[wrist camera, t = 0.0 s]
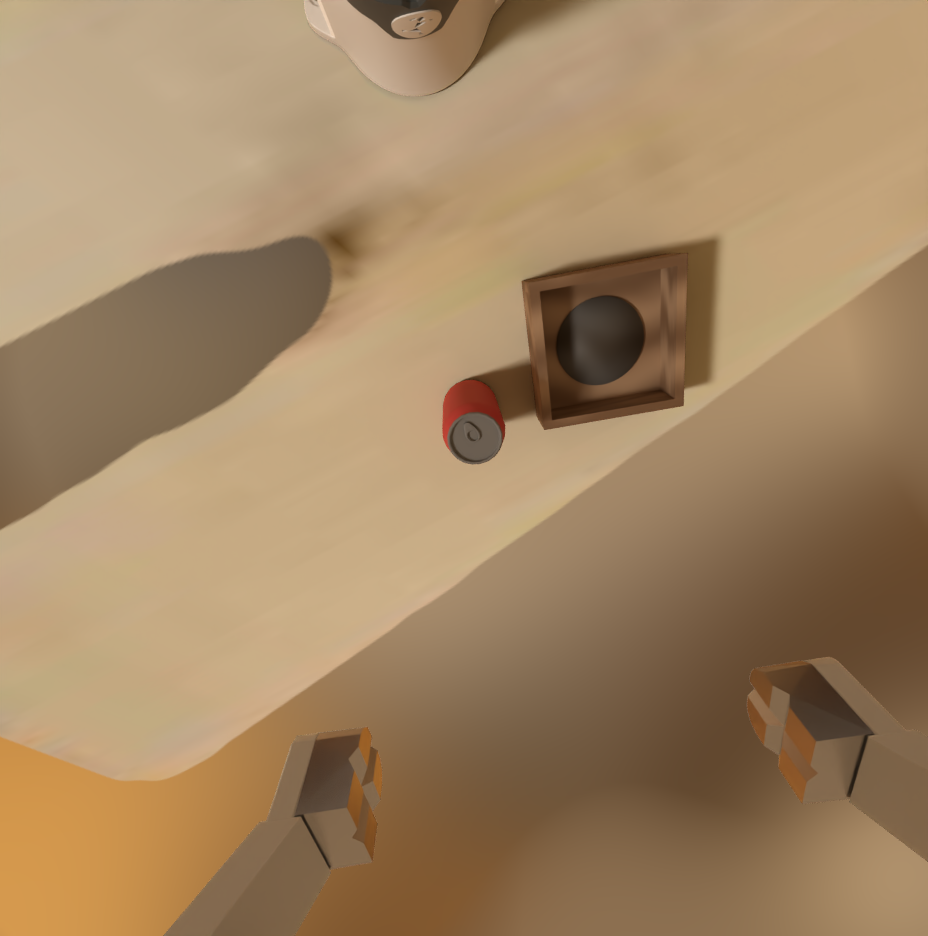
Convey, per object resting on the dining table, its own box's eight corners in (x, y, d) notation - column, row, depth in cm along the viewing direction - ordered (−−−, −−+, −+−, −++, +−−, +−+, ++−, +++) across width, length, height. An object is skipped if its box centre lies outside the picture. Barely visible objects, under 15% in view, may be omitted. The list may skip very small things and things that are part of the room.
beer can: (480, 368, 55) (488, 395, 44) (505, 414, 57) (519, 450, 46) (433, 395, 56) (429, 428, 45) (460, 439, 58) (462, 480, 47)
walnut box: (521, 280, 51) (528, 282, 46) (666, 253, 50) (687, 253, 46) (536, 416, 57) (544, 430, 53) (664, 394, 57) (683, 405, 52)
